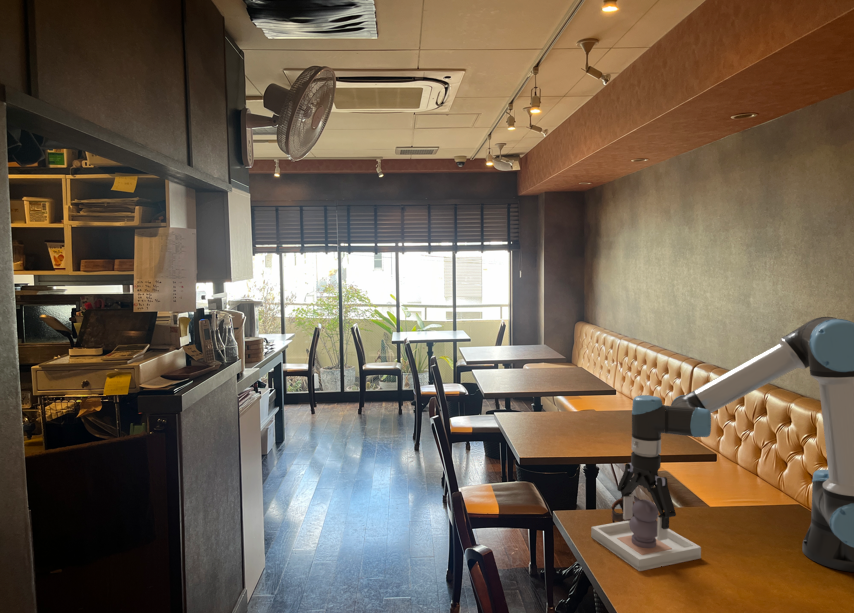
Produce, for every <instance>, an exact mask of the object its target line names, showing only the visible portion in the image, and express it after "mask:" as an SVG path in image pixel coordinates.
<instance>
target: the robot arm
mask: <svg viewBox="0 0 854 613" xmlns="http://www.w3.org/2000/svg"><path fill="white" fill-rule="evenodd" d="M808 368H809V372H810V373H809V375H810V376H811V377H812V378H813V379H814V380H816V381H817V382H818V390H819V398H820V405H821V406H820V407H821V416H822V425H823V433H824V434H823V435H824V442H825V445H824V446H825V452H826V453H825V454H826V460H827V462H826V463H827V469H818V470H814V472H813V473H812V474H813V476H812V480H811V484H812V486H811V487H812V488H811V489H812V490H811V491H812V492H811V513H810V514H811V521H810V525H809V527H808V529H807V532H806V533H805V536H804V539H803V540H802V553H803V554H804V555H805V556H806V557H807V558H809V559H810V561H811V560H812V561H813V562H815V563H817V564H820V565H821V566H825V567H827V568H831V569H834V570H838V571H844V572H849V573H854V322H853V321H851V320H848V319H845V318H838V317H832V316H820V317H819V316H818V317H816V318H813V319H811V320H809V321H807V322H805V323H803V325H801V326H798V327H797V328H795V329H794V330H792V331H791V332H789V333H787V334H786V335H784V336H782V337H781V338H780V339H779V342H778V343H777V344H776V345H774V346H773V347H770V348H768V349H767V350H765V351H762V353H760V354H758V355H755V356H754V357H752V358H750V359H748V360H747V361H745V362H743V363H741V364H739V365H738V366H736V367H734V368H732V369H730V370H729V371H727V372H725V373H723V374H721V375H720V376H718V377H715V378H713V379H712V380H711V381H709V382H706V383H705V384H703V385H701V386H699V387H698V388H696V389H694V390H692V391H690V392H688V393H687V394H681V395H678V396H676V397H675V398H674V399H673V401H672V402H671V404H670V405H666V404H663V401H662V400H663V399H662V398H661V397H659V396H655V395H647V394H646V395H645V394H644V395H643V394H640V395H637V396H634V398H633V399H632V409H631V410H632V411H631V451H632V452H631V453H630V454H631V455H630V461H631V462H627V463H625V464H624V471H623V473H622V476H621V478H620V480H619V483H618V485H617V488H616V489H617V492H620V494H621V496H622V497H623V503H622V504H623V512H622V513H623V519H624V520H627V519H631V518H632V517H633V512H632V507H633V501H634V495H632V494H633V493H634V491H635V490H636V489H637V487H638V486H640V487H641V486H642V487H643V488H644V489H646V491H647V492H648V493H650V495H651V498H652V500H653V503H654V504H655V505H656V507H657V509H658V517H657V540H659V541H661V540H666V539H667V534H668V529H670V518H671V517H676V516H677V513H676V510H675V506H674V502H673V499H672V496H671V493H670V489H669V487H668V485H669V484H668V483H669V482H668V477H666V476H659V472H658V471H659V470H660V469H661V465H662V463H661V458H662V457H661V453H662V434H669V435H675V436H676V435H677V436H683V437H684V436H685V437H693V438H708V437H710V435H711V432H712V413H715V411H718V410H720V409H721V408H724V407H725V406H727V405H729V404H731V403H733V402H735V401H737V400H739V399H742V398H743V397H745V396H747V395H748V394H751V393H752V392H754V391H756V390H758V389H759V388H762V387H764V386H765V385H767V384H770V383H771V382H773V381H775V380H778V379H779V378H781V377H782V376H785V375H787V374H788V373H790V372H793V371H795V370H797V369H803V370H806V369H808Z"/></svg>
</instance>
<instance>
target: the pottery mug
mask: <svg viewBox="0 0 854 613" xmlns="http://www.w3.org/2000/svg"><path fill="white" fill-rule="evenodd" d="M622 503H623V496H621V497H620V498H618V499H617V500H615V501H613V503H612V505H611V507H610V508H611V515H610V516H611V520H612V523H615V522H616V523H617V522H622V521H628V520H630V519H627V520H624V519H623V504H622ZM634 503H635V500H633V504H634ZM617 506H620V509H621V511H622V512H621V513H620V512H617V511H615V509H616V508H617ZM633 516H634V514H633Z"/></svg>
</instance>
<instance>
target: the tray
mask: <svg viewBox="0 0 854 613" xmlns="http://www.w3.org/2000/svg"><path fill="white" fill-rule="evenodd" d="M629 522H630V520H628V521H622V522H617V521H616V522H612V523H607V524H601V525H595V526H591V532H590V535H591V538H592V539H593V540H594V541H596V542H598V543H599V544H600V545H601V546H603V547H605V548H606V549H607V550H609V551H610V552H612V553H613V554H615V556H617V557H618V558H619V559H621V560H623V562H625V563H627V564H628V565H630V566H631V567H633V568H634V569H635V570H637V571H638V572H643V571H648V570H651V569H655V568H656V569H657V568H661V566H662V567H665V566H666V567H667V566H669V565H670V566H671V565H675V564H680V563H684V562H689V561H693V560H694V561H695V560H698V559H699V560H700V559H701V558H702V547H701V546H700V545H699V544H696V543H695V542H693V541H691V540H689V539H688V538H686V537H684V536H682V535H680V534H678V532H675V531H674V530H672V529H670V528H668V534H667V539H666V540H661V541H659V540H657V537H656V547H654V548H641V547H638V546H636V545H634V544H633V543H632V535H633V534H634V533H633V532H632V531H631V529H630V526H629Z"/></svg>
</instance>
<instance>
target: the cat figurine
mask: <svg viewBox="0 0 854 613" xmlns="http://www.w3.org/2000/svg"><path fill="white" fill-rule="evenodd" d="M633 501H634V502H635V503H634V504H633V507H632V512H633V514H634V516H633V517H632V518H631V519H630V522H629V526H630V529H631V531H632V532H633V533H634V534H633V535H632V543H633V544H634V545H636V546H638V547H641V548H654V547H656V537H657V522H658V515H659V511H658V509H657V507H656V505H655V502H652V501H651V500H649V499H645V498H644V499H643V498H641V499H640V498H639V497H637V496H636V495H633Z"/></svg>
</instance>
